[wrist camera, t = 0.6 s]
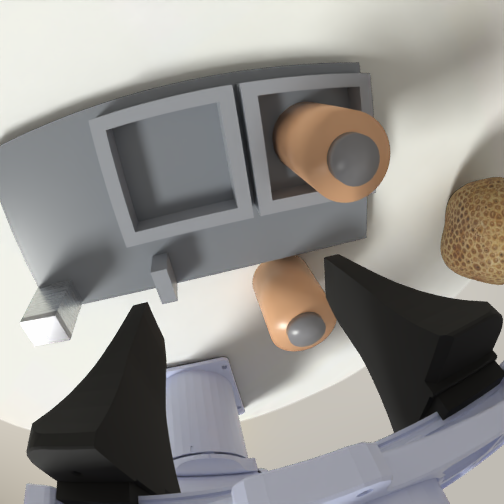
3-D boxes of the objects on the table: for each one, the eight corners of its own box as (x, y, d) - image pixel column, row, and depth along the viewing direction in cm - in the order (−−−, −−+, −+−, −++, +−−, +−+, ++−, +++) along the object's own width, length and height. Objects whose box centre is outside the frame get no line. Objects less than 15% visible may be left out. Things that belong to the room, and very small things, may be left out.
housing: (358, 230, 24) (379, 250, 21) (55, 301, 21) (44, 328, 19) (350, 63, 18) (376, 61, 15) (-7, 149, 15) (-32, 161, 12)
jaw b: (309, 294, 26) (339, 346, 21) (256, 307, 25) (276, 364, 20) (306, 247, 24) (341, 296, 18) (248, 261, 23) (269, 316, 18)
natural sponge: (494, 170, 24) (572, 212, 15) (467, 250, 28) (532, 305, 19) (437, 148, 22) (534, 192, 13) (407, 247, 26) (482, 316, 17)
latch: (82, 301, 21) (70, 340, 17) (50, 308, 20) (34, 345, 17) (71, 278, 20) (55, 315, 16) (38, 287, 19) (19, 322, 16)
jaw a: (342, 166, 20) (396, 198, 14) (277, 177, 19) (314, 215, 14) (337, 98, 18) (395, 109, 12) (267, 106, 17) (305, 116, 12)
